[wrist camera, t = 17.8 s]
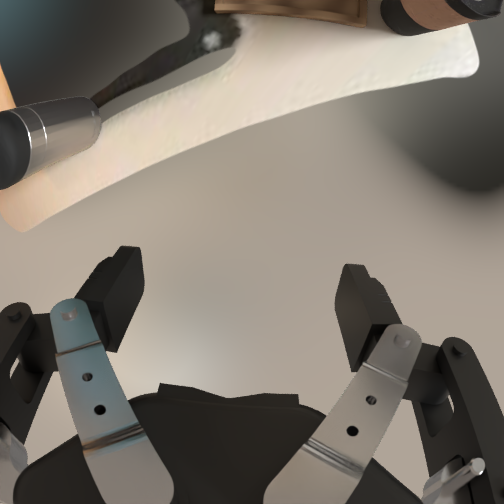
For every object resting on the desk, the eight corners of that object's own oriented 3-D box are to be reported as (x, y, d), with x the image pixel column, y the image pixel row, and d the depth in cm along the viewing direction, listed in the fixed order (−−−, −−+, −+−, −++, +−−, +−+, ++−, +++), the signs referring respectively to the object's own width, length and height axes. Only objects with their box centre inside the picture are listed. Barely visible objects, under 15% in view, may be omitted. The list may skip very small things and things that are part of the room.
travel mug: (369, -4, 31) (427, -52, 14) (412, -11, 29) (483, -51, 12) (392, 42, 34) (465, 21, 17) (433, 33, 32) (516, 16, 15)
